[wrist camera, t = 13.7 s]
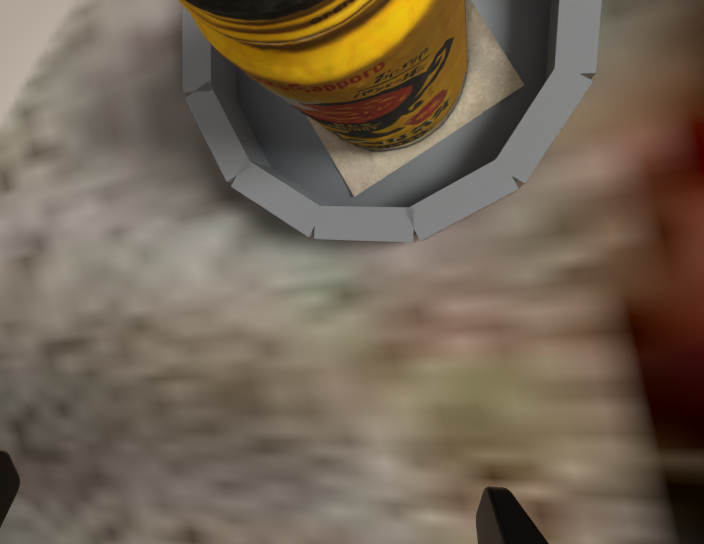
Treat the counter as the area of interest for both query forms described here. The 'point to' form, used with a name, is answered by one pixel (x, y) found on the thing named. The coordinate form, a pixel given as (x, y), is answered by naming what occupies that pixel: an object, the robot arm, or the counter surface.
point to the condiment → (366, 70)
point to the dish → (424, 170)
